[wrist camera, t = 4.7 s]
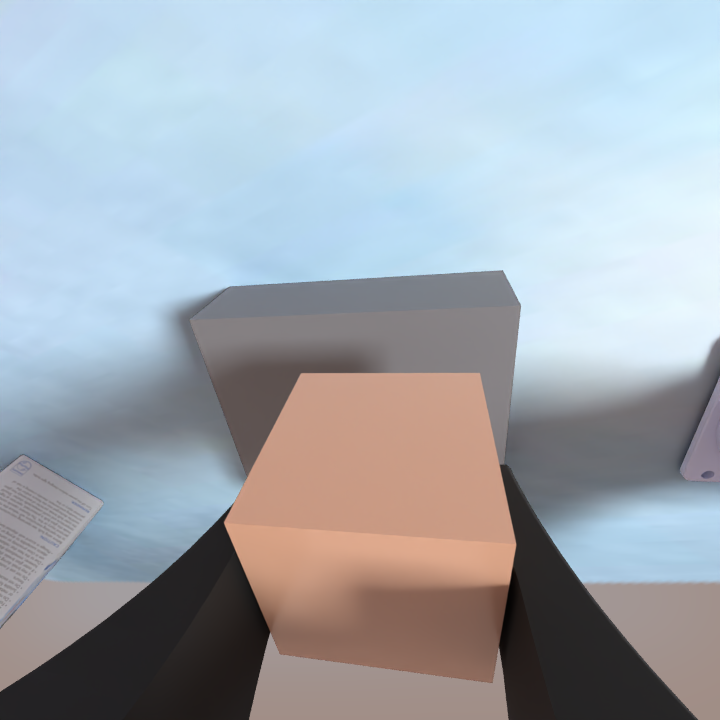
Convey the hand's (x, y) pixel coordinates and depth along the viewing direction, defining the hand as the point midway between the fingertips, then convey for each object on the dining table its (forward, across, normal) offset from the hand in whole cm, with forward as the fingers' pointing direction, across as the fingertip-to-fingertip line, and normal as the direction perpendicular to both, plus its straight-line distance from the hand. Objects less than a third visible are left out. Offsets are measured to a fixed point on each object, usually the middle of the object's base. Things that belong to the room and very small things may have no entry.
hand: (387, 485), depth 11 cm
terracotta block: (+2, 0, 0) cm, 2 cm away
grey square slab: (+9, +2, +3) cm, 10 cm away
